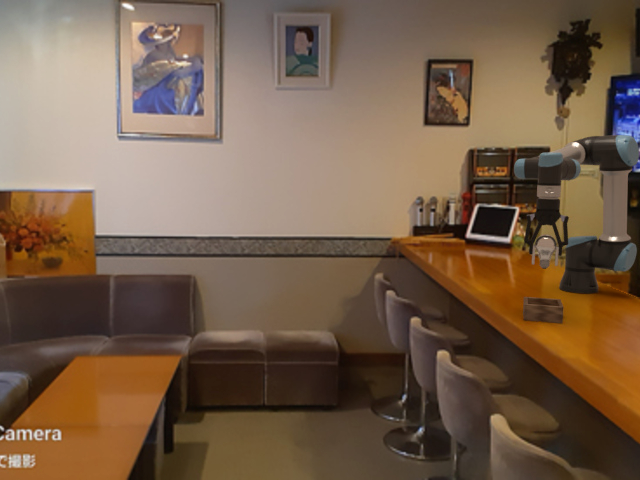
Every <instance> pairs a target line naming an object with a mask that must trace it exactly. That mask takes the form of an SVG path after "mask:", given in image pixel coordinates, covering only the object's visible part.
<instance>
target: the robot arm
mask: <svg viewBox="0 0 640 480" xmlns="http://www.w3.org/2000/svg"><path fill="white" fill-rule="evenodd" d="M639 157H640V149H639V144H638V143H637V140H636V139H635V138H634V137H633V136H631V135H625V134H614V135H613V134H611V135H593V136H592V135H591V136H587V137H583V138H580V139H577V140H574V141H571V142H568V143H566V144H565V146H563V147H561V148H559V149H555V150H553V151H549V152H542V153H540V154H539V155H538V156H534V157H531V158H526V157H525V158H519V159H517V160H516V161H515V163H514V167H513V173H514V175H515V176H514V177H516V178H518V179H519V180H525V181H526V180H537V185H536V186H537V189H536V190H537V191H536V197H538V198H536V206H535V212H534V213H532V214H527V215H526V221H527V222H526V228H525V233H524V234H525V235H524V239H523V243H524V244H527V245H529V247H528V253H529V255H531V265H535V260H536V257H535V256H536V248H535V241H536V239H537V238H538V234H539V232H540V231H541V228H542V226H549V227H550V226H552V229H553V232H554V235H555V240H556V243H557V245H556V249H555V256H554V267H555V266H556V267H557V266H558V265H559V257H562V255H563V247H564V246H565V261H564V263H565V265H564V266H565V267H564V272H563V274H562V277H561V279H560V282H559V289H560V290H561V291H564V292H570V293H573V294H574V293H575V294H595V293H598V292H599V284H598V280H597V276H596V269H602V270H607V271H614V272H627V271H629V270H630V269H631V268H632V266H633V265H634V263H635V260H636V258H637V257H636V256H637V252H638V248H637V245H636V244H635V243H633V242H632V237H631V236H630V235H629V234H628V233H627V230H628V229H627V228H628V190H629V189H628V187H629V186H628V184H629V183H628V180H629V177H628V176H629V173H631V171H633V167H635V166H636V165H637V164H638V162H639ZM582 165H583V166H599V168H598V169H599V170H598V171H599V172H600V173H601V174H602V175H603V181H602V182H603V186H602V187H603V188H602V189H603V193H602V194H603V196H602V197H603V198H602V200H603V202H602V203H603V204H602V233H601V235H599V236H597V235H579V236H578V235H577V236H571V237H569V232H568V231H569V230H568V229H569V228H568V222H569V220H570V217H569V216H568V215H563V214H561V212H560V210H561V209H560V208H561V199H560V198H561V192H562V181H567V182H568V181H571V180H575V179H577V178H578V177H579V176H580V175H581V174H580V173H581V171H582V167H581V166H582ZM534 218H535V220H537V222H538V223H537V225H536V227H535V229H534V232H533V233H532V236H531V238H530V232H531V231H530V230H531V226H532V221H533V220H534ZM560 219H561V222H562V231H563V232H562V233H563V241H562V239H561V235H560V233H559V229H558V227H557V224H556V223H557V222H558V220H560ZM529 238H530V239H529Z"/></svg>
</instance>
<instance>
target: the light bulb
mask: <svg viewBox="0 0 640 480" xmlns="http://www.w3.org/2000/svg"><path fill="white" fill-rule="evenodd" d="M534 245H535V251H536V252H537V254H538V258H539V266H540V268H541V269H544V270H547V268H549V267H550V264H551V261H550V260H552V255H553V254H554V252H556V246H557V240H556V238H554V236H553V235H550V234H541V235H539V236H537V237H536V239H535V241H534Z"/></svg>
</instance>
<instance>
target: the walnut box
mask: <svg viewBox="0 0 640 480" xmlns="http://www.w3.org/2000/svg"><path fill="white" fill-rule="evenodd" d="M522 307H523V308H522V314H523V321H527V322H528V320H529V322H539V321H541V322H540V323H553V324H563V321H564V305H563V302H562V299H559V298H549V297H547V298H546V297H532V296H531V297H530V296H523V306H522Z"/></svg>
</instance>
